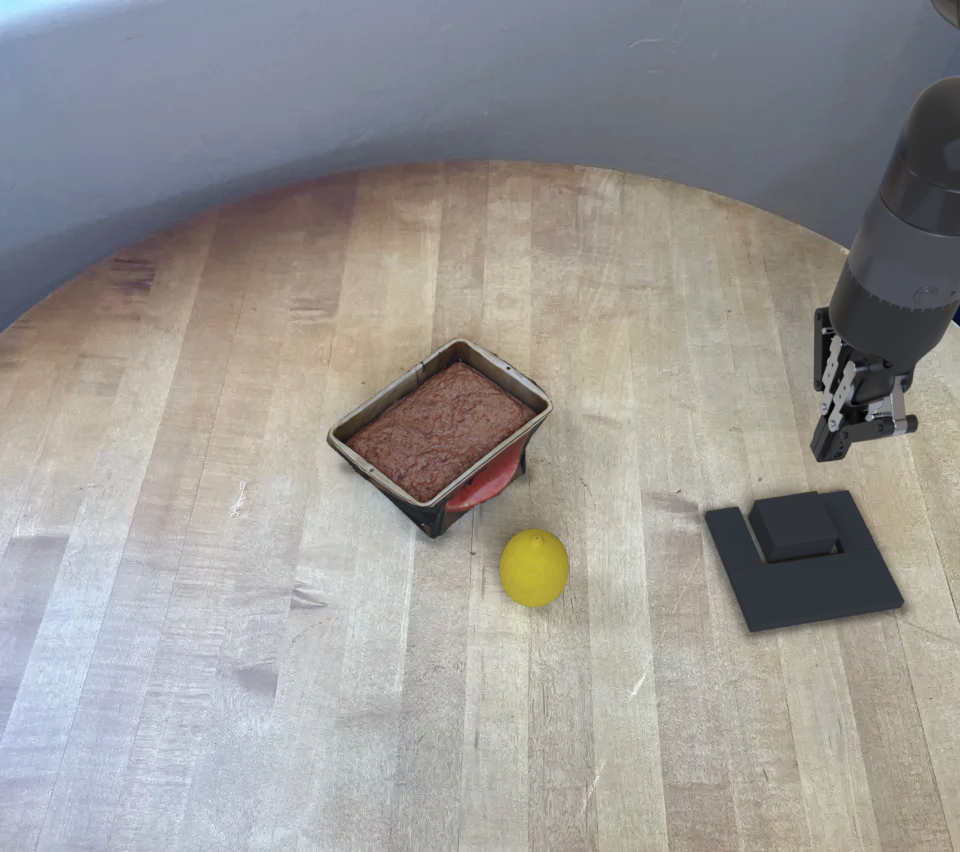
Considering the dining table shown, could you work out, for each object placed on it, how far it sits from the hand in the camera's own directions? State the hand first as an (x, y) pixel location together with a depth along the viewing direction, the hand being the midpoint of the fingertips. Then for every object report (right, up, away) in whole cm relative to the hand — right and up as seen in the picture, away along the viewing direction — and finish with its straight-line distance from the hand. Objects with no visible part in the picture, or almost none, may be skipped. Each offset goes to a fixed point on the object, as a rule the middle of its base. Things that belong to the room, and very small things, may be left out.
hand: (824, 453), depth 77 cm
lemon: (-22, -11, +6) cm, 26 cm away
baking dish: (-30, +1, +13) cm, 33 cm away
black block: (0, -6, +9) cm, 11 cm away
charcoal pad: (0, -8, +8) cm, 11 cm away
